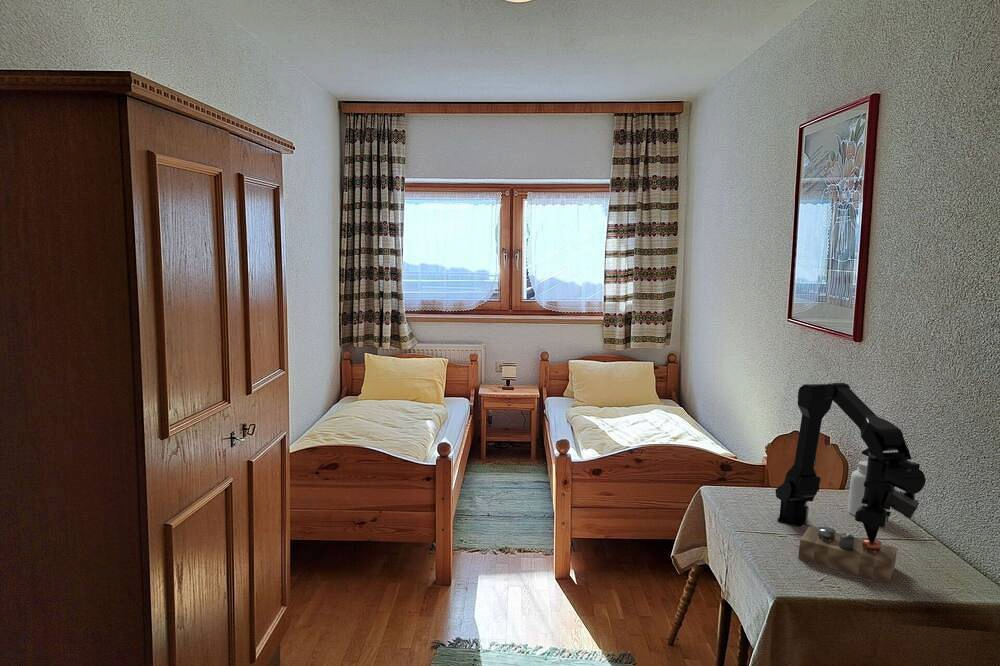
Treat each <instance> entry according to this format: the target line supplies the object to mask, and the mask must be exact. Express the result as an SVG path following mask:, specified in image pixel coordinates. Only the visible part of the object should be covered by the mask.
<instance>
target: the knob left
mask: <svg viewBox="0 0 1000 666" xmlns="http://www.w3.org/2000/svg"><path fill="white" fill-rule="evenodd" d="M817 528H818V536H819V537H821V539H823V540H826V541H830V542H831V540H833V539H835V536H836V533H837V531H836V530H835V529H834V528H831V527H828V526H820V527H817Z"/></svg>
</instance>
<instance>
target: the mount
mask: <svg viewBox="0 0 1000 666" xmlns="http://www.w3.org/2000/svg"><path fill="white" fill-rule="evenodd" d="M818 528H819V527H814V526H808V527H807V529H806V530H805V532H803V533H804V534H803V535H802V536H801V537H800V539H799V546H798V547H799V549H798V555H797V559H799V560H802V561H806V562H810V563H813V564H817V565H821V566H824V567H827V568H831V569H835V570H838V571H842V572H847V573H850V574H853V575H857V576H859V577H860V576H861V577H865V578H868V579H873V580H874V581H878V582H883V583H885V584H890V582H891V579H892V576H893V573H894V570H895V568H896V559H897V551H898V548H897V547H894V546H890V545H886V544H882V543H881V550H880V551H876V553H874V552H870V551H866V550H865V548H863V547H862V541H863V538H859V537H858V538H857V537H854V544H853V550H851V551H847V550H843V549H841V548H840V547H839V543H840V535H841V534H842V533H837V532H836V536H835V539H833V540H831V542H830V541H826V540H823V539H821V537H819V536H818Z"/></svg>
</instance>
